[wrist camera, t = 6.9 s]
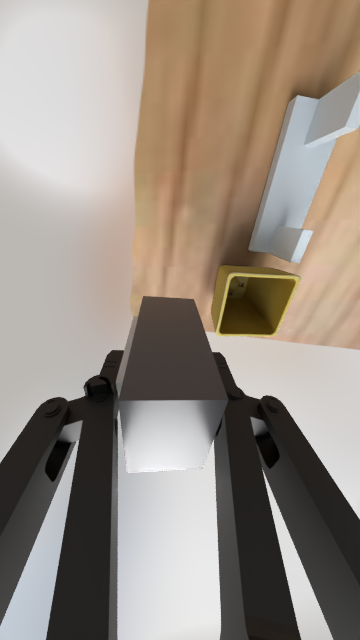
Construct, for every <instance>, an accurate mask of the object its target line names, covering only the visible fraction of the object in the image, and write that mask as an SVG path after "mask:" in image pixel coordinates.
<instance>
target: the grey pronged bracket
mask: <svg viewBox="0 0 360 640" xmlns="http://www.w3.org/2000/svg"><path fill="white" fill-rule="evenodd" d="M359 124H360V71H358V72H357V73H355V74H354V75H353V76H351V77H350V78H348V79H347V80H346V81H344V82H343V83H341V84H340V85H339V86H337V87H336V88H334V89H333V90H332V91H330V92H329V93H327V94H326V95H325V96H323V97H322V98H320V99H314V98H309V97H304V96H299V95H297V96H296V97H295V98H293V99H292V100H291V101H290V102H289V103H288V107H287V110H286V114H285V118H284V121H283V125H282V128H281V132H280V136H279V139H278V143H277V146H276V150H275V154H274V157H273V161H272V165H271V168H270V172H269V175H268V179H267V183H266V186H265V190H264V193H263V197H262V201H261V204H260V208H259V211H258V215H257V219H256V222H255V226H254V230H253V233H252V237H251V240H250V244H249V248H248V250H251V251H255V252H266V253H270V254H272V255H274V256H277V257H279V258H281V259H284V260H286V261H289V262H294V263H300V260H301V258H302V256H303V253H304V251H305V249H306V247H307V244H308V242H309V240H310V237H311V235H312V233H313V231H312V230H305V229H301V227H302V225H303V222H304V220H305V217H306V215H307V212H308V210H309V207H310V205H311V202H312V200H313V197H314V195H315V192H316V190H317V187H318V185H319V182H320V180H321V177H322V175H323V172H324V170H325V167H326V165H327V162H328V160H329V157H330V155H331V152H332V150H333V147H334V145H335V142H336V140H337V137H339V136H342V135H344V134H347V133H349V132H351V131H354V130H356V129H358V127H359Z"/></svg>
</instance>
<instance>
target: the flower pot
mask: <svg viewBox="0 0 360 640" xmlns="http://www.w3.org/2000/svg"><path fill="white" fill-rule="evenodd" d="M300 279H301V277H300V276H298V275H294V274H291V273H288V272H284V271H281V270H278V269H274V268H267V267H245V266H230V265H221V266H220V267H219V269H218V275H217V281H216V286H215V292H214V297H213V302H212V308H211V315H212V320H213V324H214V328H215V332H216V335H217V336H262V337H271V336H276V335H277V333H278V331H279V328H280V326H281V324H282V321H283V319H284V316H285V314H286V312H287V309H288V307H289V305H290V303H291V300H292V298H293V296H294V294H295V291H296V289H297V287H298V284H299V282H300ZM241 283H243V285H242V286H240V284H241ZM229 292H232V293H231V295H229Z"/></svg>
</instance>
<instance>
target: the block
mask: <svg viewBox="0 0 360 640" xmlns="http://www.w3.org/2000/svg"><path fill="white" fill-rule="evenodd" d="M118 403H119V411H120V419H121V427H122V436H123V444H124V452H125V460H126V469H127V473H133V472H153V471H171V470H189V469H202V468H203V466H204V463H205V460H206V458H207V455H208V453H209V450H210V447H211V445H212V442H213V439H214V437H215V434H216V432H217V429H218V426H219V424H220V421H221V418H222V416H223V413H224V411H225V408H226V405H227V403H228V397H227V394H226V391H225V388H224V385H223V382H222V380H221V377H220V374H219V371H218V368H217V365H216V362H215V359H214V356H213V353H212V351H211V348H210V345H209V342H208V339H207V336H206V333H205V330H204V327H203V324H202V321H201V319H200V316H199V313H198V310H197V307H196V304H195V301H194V299H182V298H166V297H149V296H143V299H142V303H141V307H140V312H139V316H138V320H137V324H136V328H135V333H134V337H133V341H132V345H131V349H130V354H129V358H128V362H127V366H126V370H125V375H124V379H123V383H122V387H121V391H120V396H119V400H118Z"/></svg>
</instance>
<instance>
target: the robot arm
mask: <svg viewBox="0 0 360 640" xmlns="http://www.w3.org/2000/svg"><path fill="white" fill-rule="evenodd" d="M137 320H138V317H133V321H132V325H131V328H130V332H129V336H128V339H127V343H126V346H125V350H124V351H123V350H112V351H111V352H110V353H109V354H108V355H107V357H106V359H105V363H104V364H103V367H102V370H101V372H100V375H97V376H94V377H92V378H90V379H89V380H88V381H87V382H86V383H85V385H84V391H85V395H86V396H84V397H81V398H79V399H75V400H72V401H67V400H66V399H65V398H61V397H56V398H52V399H49V400H47V401H46V402H44V403H43V404H41V405H40V406H39V408H38V409H37V410H36V412H35V413H34V414H33V416H32V417H31V419H30V420H29V422H28V423H27V425H26V426H25V428H24V429H23V431H22V432H21V434H20V435H19V436H18V438H17V440H16V441H15V442H14V444H13V445H12V447H11V448H10V450H9V451H8V453H7V454H6V456H5V457H4V459H3V460H2V462H1V463H0V625H1V623H2V620H3V618H4V616H5V613H6V610H7V608H8V606H9V603H10V601H11V599H12V596H13V593H14V591H15V589H16V586H17V584H18V582H19V579H20V577H21V574H22V572H23V569H24V567H25V565H26V562H27V560H28V557H29V555H30V552H31V550H32V548H33V545H34V543H35V540H36V538H37V535H38V533H39V531H40V528H41V526H42V523H43V521H44V518H45V516H46V514H47V511H48V509H49V506H50V504H51V501H52V499H53V497H54V494H55V492H56V489H57V487H58V484H59V482H60V480H61V477H62V475H63V472H64V470H65V467H66V465H67V463H68V460H69V458H70V455H71V453H72V451H73V448H74V446H75V443H76V441H77V440H79V445H78V451H77V457H76V463H75V469H74V475H73V482H72V487H71V493H70V499H69V505H68V511H67V517H66V523H65V529H64V535H63V542H62V548H61V553H60V559H59V566H58V571H57V577H56V583H55V590H54V595H53V601H52V607H51V613H50V619H49V626H48V631H47V638H46V640H117V527H118V526H117V522H118V521H117V519H118V517H117V516H118V514H117V513H118V510H117V507H118V491H117V490H118V420H117V416H118V411H119V403H118V400H119V396H120V391H121V387H122V383H123V379H124V375H125V370H126V366H127V362H128V358H129V354H130V349H131V345H132V341H133V337H134V333H135V328H136V324H137ZM212 353H213V356H214V359H215V362H216V365H217V368H218V371H219V374H220V377H221V380H222V382H223V385H224V388H225V391H226V394H227V397H228V403H227V405H226V408H225V411H224V413H223V416H222V418H221V421H220V424H219V426H218V429H217V432H216V434H215V437H214V450H215V451H214V452H215V476H216V502H217V526H218V551H219V576H220V601H221V635H220V640H301V637H300V633H299V630H298V626H297V621H296V617H295V612H294V608H293V603H292V600H291V595H290V591H289V586H288V581H287V577H286V573H285V568H284V564H283V559H282V555H281V551H280V546H279V541H278V537H277V533H276V528H275V524H274V519H273V515H272V510H271V507H270V502H269V497H268V493H267V488H266V484H265V479H264V475H263V471H264V473H265V476H266V478H267V480H268V483H269V485H270V488H271V490H272V492H273V495H274V497H275V500H276V502H277V505H278V506H279V509H280V512H281V514H282V517H283V519H284V521H285V524H286V526H287V529H288V531H289V533H290V536H291V538H292V541H293V543H294V545H295V548H296V550H297V553H298V555H299V557H300V560H301V562H302V565H303V567H304V569H305V572H306V574H307V577H308V579H309V582H310V584H311V586H312V589H313V591H314V594H315V596H316V598H317V601H318V603H319V606H320V608H321V610H322V613H323V615H324V618H325V620H326V622H327V625H328V627H329V629H330V632H331V634H332V637H333V639H334V640H360V519H359V518H358V516H357V515H356V513H355V512H354V511H353V509H352V507H351V506H350V504H349V503H348V501H347V500H346V498H345V497H344V495H343V494H342V492H341V491H340V489H339V488H338V486H337V485H336V483H335V482H334V480H333V479H332V477H331V476H330V474H329V473H328V471H327V469H326V468H325V466H324V465H323V463H322V462H321V460H320V459H319V458H318V456H317V454H316V453H315V451H314V450H313V448H312V447H311V445H310V444H309V442H308V441H307V439H306V438H305V436H304V435H303V433H302V432H301V430H300V429H299V427H298V426H297V424H296V423H295V421H294V420H293V418H292V417H291V415H290V414H289V412H288V411H287V409H286V407H285V406H284V405H283V403H282V402H281V401H280V400H278V399H277V398H275V397H273V396H267V395H266V396H263V397H262V398H261V400H260V399H256V398H253V397H249V396H247V395H245V394H244V392H243V391H242V390H241V389H240V388H238V387H237V386H236V384H235V381H234V379H233V377H232V374H231V372H230V370H229V367H228V365H227V362H226V360H225V358H224V356H223V355H222V354H221V353H220V352H212ZM119 413H120V411H119ZM262 468H263V471H262Z"/></svg>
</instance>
